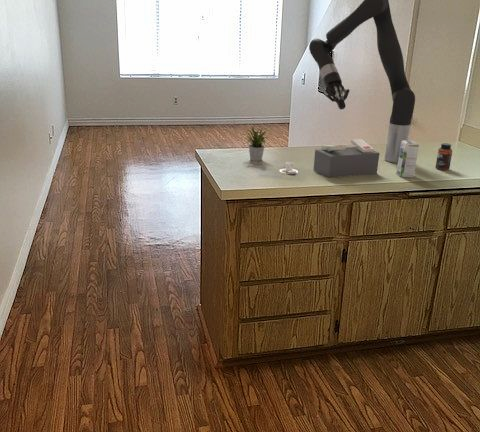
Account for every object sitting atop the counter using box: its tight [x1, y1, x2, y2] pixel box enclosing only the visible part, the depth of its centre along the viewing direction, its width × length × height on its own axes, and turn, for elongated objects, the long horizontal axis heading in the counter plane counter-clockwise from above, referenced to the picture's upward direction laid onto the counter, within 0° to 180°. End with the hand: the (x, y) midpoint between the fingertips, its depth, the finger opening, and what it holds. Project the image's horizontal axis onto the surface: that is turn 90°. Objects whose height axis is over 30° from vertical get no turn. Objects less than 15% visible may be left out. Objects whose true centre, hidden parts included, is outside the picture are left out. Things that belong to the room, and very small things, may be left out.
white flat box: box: [350, 138, 375, 153], centre depth 223 cm, size 5×10×2 cm, turn 23°
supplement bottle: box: [435, 142, 453, 171], centre depth 233 cm, size 6×6×11 cm
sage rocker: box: [321, 144, 346, 151], centre depth 218 cm, size 5×10×2 cm, turn 23°
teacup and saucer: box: [279, 161, 299, 175], centre depth 220 cm, size 9×8×4 cm
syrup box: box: [396, 139, 420, 178], centre depth 220 cm, size 6×6×14 cm
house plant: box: [242, 123, 272, 162], centre depth 235 cm, size 14×14×16 cm
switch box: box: [313, 146, 380, 179], centre depth 223 cm, size 24×12×9 cm, turn 113°
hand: (342, 108), depth 233 cm, fingers closed
